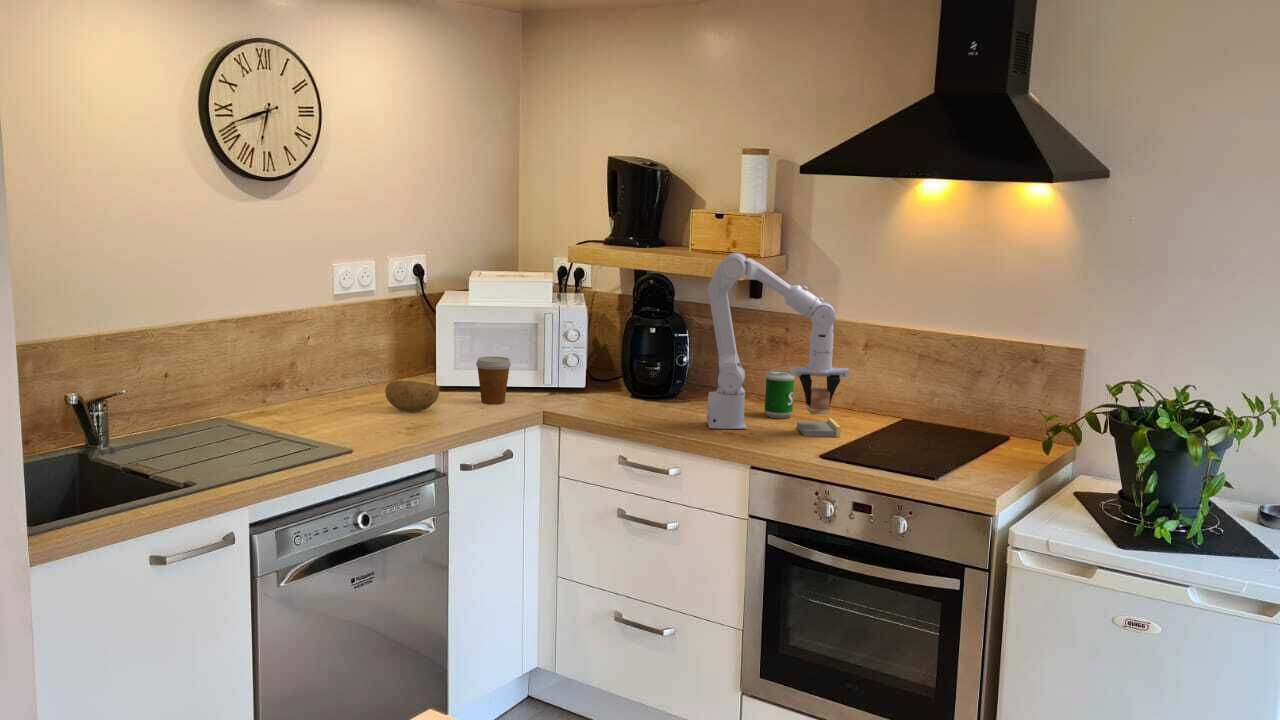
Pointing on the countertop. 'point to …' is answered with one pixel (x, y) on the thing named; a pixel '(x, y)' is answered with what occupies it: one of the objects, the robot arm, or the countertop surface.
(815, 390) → the brown rectangular block
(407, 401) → the potato
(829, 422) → the dock
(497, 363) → the disposable coffee cup
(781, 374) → the soda can
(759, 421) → the countertop surface
